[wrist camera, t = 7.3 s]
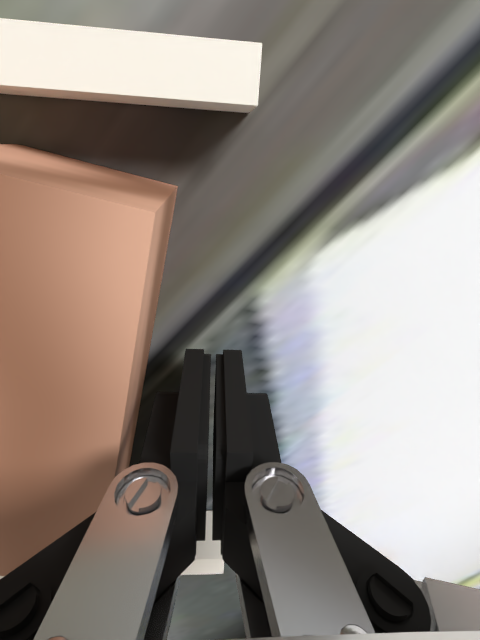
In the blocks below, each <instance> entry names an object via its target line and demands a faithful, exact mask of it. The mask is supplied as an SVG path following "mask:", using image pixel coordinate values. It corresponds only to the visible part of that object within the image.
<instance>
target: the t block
mask: <svg viewBox="0 0 480 640" xmlns="http://www.w3.org/2000/svg"><path fill="white" fill-rule="evenodd" d="M177 189H178V186H175V185H171V184H168V183H164V182H160V181H156V180H152V179H149V178H145V177H141V176H137V175H133V174H130V173H126V172H122V171H118V170H114V169H111V168H107V167H103V166H99V165H95V164H92V163H88V162H84V161H80V160H76V159H73V158H69V157H65V156H61V155H58V154H54V153H50V152H46V151H42V150H39V149H35V148H31V147H27V146H23V145H20V144H0V576H6V575H7V574H9V573H10V572H11V571H13V570H14V569H16V568H17V567H18V566H20V565H21V564H23V563H24V562H26V561H27V560H28V559H30V558H31V557H33V556H34V555H35V554H37V553H38V552H40V551H41V550H43V549H44V548H45V547H47V546H48V545H50V544H51V543H53V542H54V541H55V540H57V539H58V538H60V537H61V536H62V535H64V534H65V533H67V532H68V531H70V530H71V529H72V528H74V527H75V526H77V525H78V524H79V523H81V522H82V521H84V520H85V519H87V518H88V517H89V516H91V515H92V514H94V513H95V512H96V511H97V510H98V507H99V505H100V503H101V501H102V499H103V497H104V495H105V493H106V491H107V489H108V487H109V485H110V484H111V482H112V481H113V480H114V478H115V477H116V476H117V475H118V474H119V473H121V472H122V471H123V470H125V469H127V468H129V465H130V459H131V453H132V447H133V442H134V436H135V430H136V424H137V419H138V413H139V407H140V401H141V396H142V390H143V384H144V378H145V373H146V367H147V361H148V355H149V350H150V344H151V338H152V332H153V327H154V321H155V315H156V309H157V304H158V298H159V292H160V286H161V281H162V275H163V269H164V264H165V258H166V252H167V246H168V241H169V235H170V229H171V223H172V218H173V212H174V206H175V200H176V195H177Z"/></svg>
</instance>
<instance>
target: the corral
mask: <svg viewBox="0 0 480 640" xmlns="http://www.w3.org/2000/svg"><path fill="white" fill-rule="evenodd" d="M261 53H262V43H255V42H245V41H234V40H224V39H213V38H203V37H192V36H182V35H171V34H161V33H150V32H140V31H129V30H119V29H108V28H98V27H87V26H77V25H66V24H56V23H45V22H34V21H24V20H13V19H3V18H0V94H12V95H25V96H38V97H50V98H63V99H76V100H89V101H101V102H114V103H127V104H140V105H152V106H165V107H178V108H191V109H203V110H216V111H229V112H242V113H250V112H251V111H252V110H253V109H254V108H256V107H257V106H258V94H259V81H260V67H261ZM223 570H224V560H223V559H222V555H221V540H215V541H212V511H206V534H205V541H197V545H196V556H195V560H194V561H193V562H192V563H191V564H190V565H189V566H188V567H187V568H186V569H185V571H184V572H183V573H182V574H181V575H196V574H223ZM3 577H4V576H0V579H1V578H3Z"/></svg>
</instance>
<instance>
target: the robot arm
mask: <svg viewBox="0 0 480 640" xmlns="http://www.w3.org/2000/svg"><path fill="white" fill-rule="evenodd" d="M210 365H211V354H204V349H186V351H185V357H184V364H183V371H182V377H181V384H180V391H179V392H157V393H156V396H155V400H154V405H153V409H152V413H151V417H150V421H149V425H148V429H147V434H146V438H145V442H144V446H143V450H142V454H141V458H140V463H139V464H136V465H133V466H131V467H129V468H127V469H125V470H123V471H122V472H121V473H119V474H118V475H117V476H116V477H115V478H114V480H113V481H112V482H111V484H110V485H109V487H108V489H107V491H106V493H105V495H104V497H103V499H102V501H101V503H100V505H99V507H98V510H97V511H96V512H95V513H94V514H92V515H91V516H89V517H88V518H87V519H85V520H84V521H82V522H81V523H79V524H78V525H77V526H75V527H74V528H72V529H71V530H70V531H68V532H67V533H65V534H64V535H62V536H61V537H60V538H58V539H57V540H55V541H54V542H53V543H51V544H50V545H48V546H47V547H45V548H44V549H43V550H41V551H40V552H38V553H37V554H35V555H34V556H33V557H31V558H30V559H28V560H27V561H26V562H24V563H23V564H21V565H20V566H18V567H17V568H16V569H14V570H13V571H11V572H10V573H9V574H7V575H6V576H4V577H3V578H1V579H0V640H167V636H168V632H169V627H170V623H171V618H172V614H173V609H174V605H175V600H176V596H177V591H178V587H179V580H180V575H181V574H182V573H183V572H184V571H185V569H186V568H187V567H188V566H189V565H190V564H191V563H192V562H193V561H194V560H195V556H196V545H197V541H205V534H206V501H207V469H208V436H209V400H210ZM215 540H221V555H222V559H223V560H224V561H225V562H226V563H227V564H228V566H229V567H230V568H231V569H232V570H233V571H234V572H235V573H236V583H237V589H238V595H239V600H240V606H241V611H242V617H243V622H244V628H245V633H246V638H241V639H217V640H480V589H475V588H471V587H466V586H462V585H457V584H453V583H448V582H444V581H440V580H435V579H431V578H426V577H425V578H424V580H423V582H420V581H416V580H413V579H412V578H411V577H410V576H409V575H408V574H407V573H406V572H404V571H403V570H402V569H401V568H400V567H398V566H397V565H395V564H394V563H393V562H391V561H390V560H389V559H387V558H386V557H385V556H383V555H382V554H380V553H379V552H378V551H376V550H375V549H374V548H372V547H371V546H370V545H368V544H367V543H365V542H364V541H363V540H361V539H360V538H359V537H357V536H356V535H355V534H353V533H352V532H351V531H349V530H348V529H346V528H345V527H344V526H342V525H341V524H340V523H338V522H337V521H336V520H334V519H333V518H331V517H330V516H329V515H327V514H326V513H325V512H323V511H322V510H321V509H320V507H319V505H318V503H317V500H316V498H315V496H314V494H313V491H312V489H311V487H310V485H309V483H308V481H307V480H306V478H305V477H304V476H303V475H302V474H301V473H300V472H299V471H298V470H297V469H295V468H293V467H291V466H289V465H287V464H283V463H281V459H280V454H279V449H278V444H277V439H276V434H275V429H274V424H273V419H272V414H271V409H270V404H269V399H268V395H267V394H266V393H246V384H245V376H244V367H243V359H242V351H241V350H223V355H221V354H216V375H215V401H214V429H213V509H212V541H215Z"/></svg>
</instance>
